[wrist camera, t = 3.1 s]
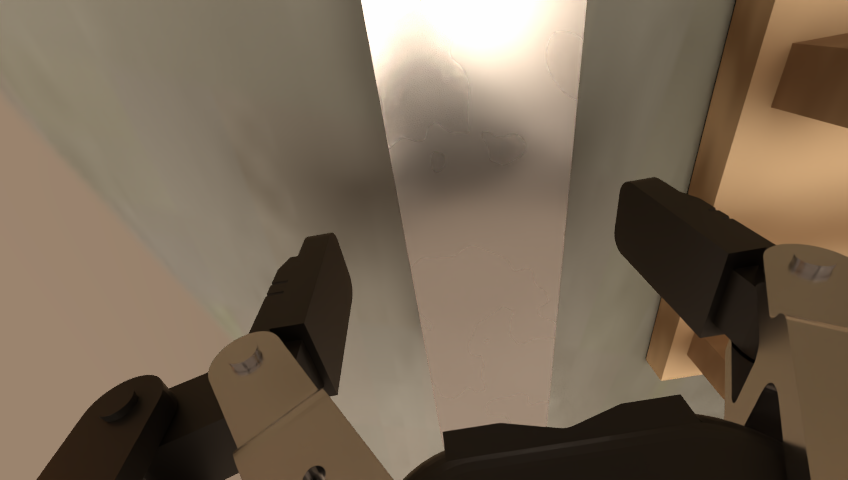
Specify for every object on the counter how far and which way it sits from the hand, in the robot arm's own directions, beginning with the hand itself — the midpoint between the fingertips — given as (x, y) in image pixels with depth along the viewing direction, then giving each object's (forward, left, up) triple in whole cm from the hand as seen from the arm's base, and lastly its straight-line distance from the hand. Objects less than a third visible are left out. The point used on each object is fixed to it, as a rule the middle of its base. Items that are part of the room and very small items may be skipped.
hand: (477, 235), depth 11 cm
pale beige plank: (0, 0, -5) cm, 5 cm away
